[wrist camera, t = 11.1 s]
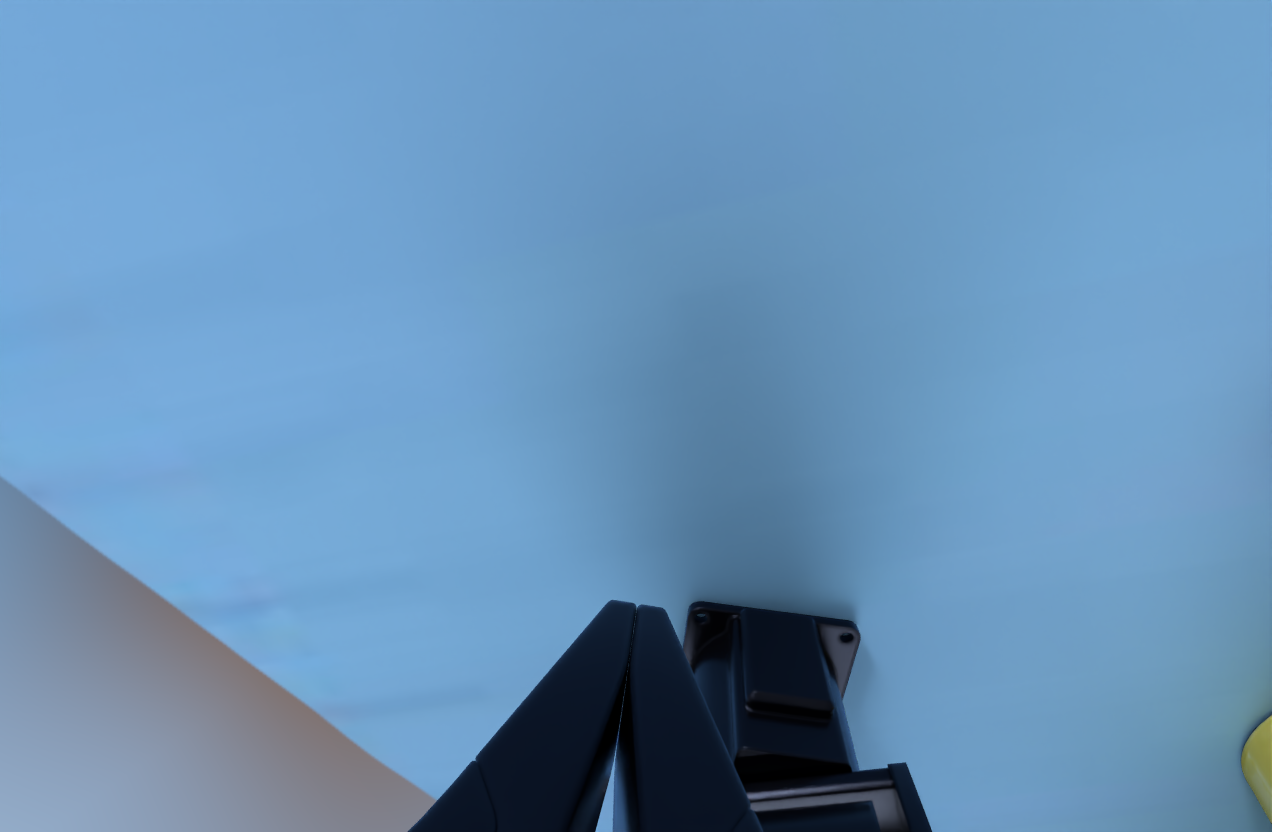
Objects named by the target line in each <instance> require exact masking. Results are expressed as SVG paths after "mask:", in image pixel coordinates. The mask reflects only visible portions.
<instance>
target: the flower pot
mask: <svg viewBox="0 0 1272 832" xmlns="http://www.w3.org/2000/svg"><path fill="white" fill-rule="evenodd" d="M1241 765H1242V771H1243V774H1244V776H1245V779H1246V781H1247V782H1248V784H1249V786H1250V787H1251V789H1252V791H1253V792H1254V794H1255V796H1256V798H1257V799H1258V801H1259V803H1260V805H1261V806H1262V808H1263V810H1264V812H1265V813H1266V815H1267V817H1268V819H1269V820H1270V822H1271V824H1272V715H1271V716H1270V717H1269V718H1267V719H1266V720H1265V721H1264V722H1262V723H1261V724H1260V725H1259V726H1258V727H1257V728H1256V729H1255V731H1254V732H1253V733H1252V734H1251V735H1250V737H1249V739H1248V740H1247V742H1246V744H1245V746H1244V749H1243V752H1242V757H1241Z"/></svg>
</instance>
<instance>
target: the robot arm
mask: <svg viewBox="0 0 1272 832" xmlns="http://www.w3.org/2000/svg"><path fill="white" fill-rule="evenodd" d="M697 614H705V616H704V617H700V616H697ZM635 616H636V618H635ZM634 623H635V625H634ZM633 630H634V632H633ZM844 633H850V634H849V635H845V636H843V635H842V634H844ZM632 637H633V638H632ZM859 643H860V633H859V630H858V627H857V625H856V624H855V623H853V622H852V621H848V620H841V619H834V618H826V617H818V616H811V615H803V614H795V613H788V612H780V611H772V610H765V609H757V608H749V607H742V606H734V605H726V604H719V603H711V602H703V601H700V602H695V603H693V604H692V605H691V606H690V607H689V609H688V615H687V622H686V629H685V636H684V643H683V648H682V646H681V644H680V642H679V639H678V637H677V635H676V633H675V630H674V628H673V626H672V623H671V621H670V619H669V617H668V614H667V612H666V611H665V609H663V608H661V607H655V606H648V605H639V606H638V607H637V611H636V605H635V604H634V603H630V602H624V601H617V600H611V601H609V602H608V603H607V604H606V605H605V606H604V607H603V608H602V610H601V611H600V612H599V613H598V614H597V615H596V617H595V618H594V619H593V620H592V621H591V622H590V624H589V625H588V626H587V627H586V628H585V630H584V631H583V632H582V633H581V634H580V635H579V637H578V638H577V639H576V640H575V641H574V642H573V644H572V645H571V646H570V647H569V648H568V649H567V651H566V652H565V653H564V654H563V655H562V656H561V658H560V659H559V660H558V661H557V662H556V663H555V665H554V666H553V667H552V668H551V669H550V671H549V672H548V673H547V674H546V675H545V676H544V678H543V679H542V680H541V681H540V682H539V683H538V685H537V686H536V687H535V688H534V689H533V690H532V692H531V693H530V694H529V695H528V696H527V697H526V699H525V700H524V701H523V702H522V703H521V704H520V706H519V707H518V708H517V709H516V710H515V712H514V713H513V714H512V715H511V716H510V717H509V719H508V720H507V721H506V722H505V723H504V724H503V726H502V727H501V728H500V729H499V730H498V731H497V733H496V734H495V735H494V736H493V737H492V738H491V740H490V741H489V742H488V743H487V744H486V745H485V747H484V748H483V749H482V750H481V751H480V753H479V754H478V755H477V756H476V761H472V762H471V763H470V764H469V765H468V766H467V767H466V769H465V770H464V771H463V772H462V773H461V774H460V776H459V777H458V778H457V779H456V780H455V781H454V783H453V784H452V785H451V786H450V787H449V788H448V789H447V790H446V792H445V793H444V794H443V795H442V796H441V797H440V798H439V799H438V800H437V801H436V803H435V804H434V805H433V806H432V807H431V808H430V809H429V810H428V812H427V813H426V814H425V815H424V816H423V817H422V818H421V819H420V820H419V821H418V822H417V823H416V824H415V825H414V826H413V827H412V828H411V829H410V830H409V831H408V832H595V831H596V827H597V823H598V819H599V816H600V812H601V808H602V804H603V801H604V797H605V793H606V789H607V786H608V782H609V778H610V774H611V770H612V766H613V762H614V756H615V751H616V758H615V773H614V804H613V832H932V830H931V827H930V825H929V822H928V819H927V817H926V814H925V811H924V809H923V806H922V804H921V801H920V798H919V796H918V793H917V790H916V788H915V785H914V783H913V780H912V777H911V775H910V772H909V769H908V767H907V764H906V762H905V763H895V764H887V765H888V768H881V769H872V770H862V771H859V767H858V763H857V759H856V755H855V750H854V746H853V742H852V738H851V734H850V730H849V726H848V722H847V718H846V714H845V710H844V706H843V702H842V700H843V696H844V693H845V690H846V686H847V683H848V680H849V676H850V673H851V669H852V666H853V663H854V659H855V656H856V653H857V649H858V646H859ZM631 644H632V645H631ZM630 651H631V652H630ZM629 658H630V659H629ZM628 665H629V666H628ZM627 671H628V672H627ZM626 678H627V679H626ZM625 685H626V686H625ZM624 692H625V693H624ZM623 698H624V700H623ZM622 705H623V707H622ZM621 712H622V714H621ZM620 718H621V721H620ZM619 725H620V727H619ZM618 732H619V734H618ZM617 739H618V741H617ZM616 745H617V749H616Z"/></svg>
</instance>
